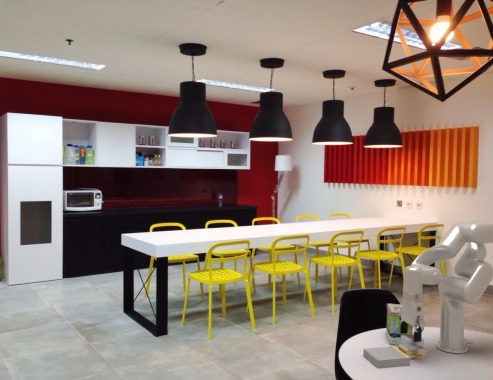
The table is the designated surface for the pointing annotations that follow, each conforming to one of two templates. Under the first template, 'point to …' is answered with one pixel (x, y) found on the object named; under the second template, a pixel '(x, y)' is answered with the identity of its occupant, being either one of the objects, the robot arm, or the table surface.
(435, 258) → the robot arm
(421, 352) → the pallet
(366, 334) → the table surface
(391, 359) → the dock
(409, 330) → the tea box
